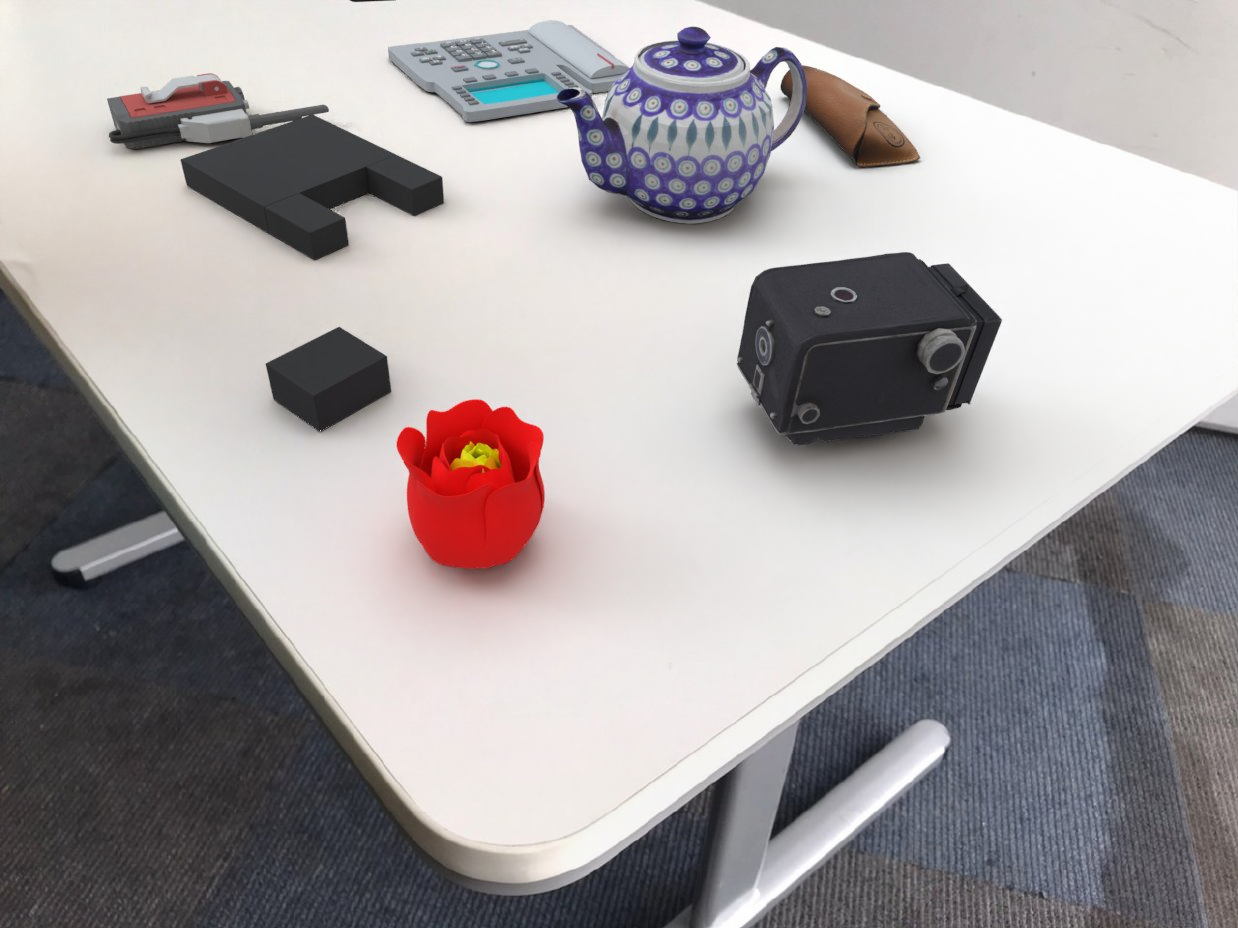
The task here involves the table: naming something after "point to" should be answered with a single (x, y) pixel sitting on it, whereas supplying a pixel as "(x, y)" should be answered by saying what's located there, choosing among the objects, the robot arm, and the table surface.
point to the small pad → (329, 378)
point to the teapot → (685, 127)
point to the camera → (862, 345)
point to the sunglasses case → (853, 120)
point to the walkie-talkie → (190, 113)
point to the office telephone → (509, 69)
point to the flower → (473, 484)
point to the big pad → (307, 181)
